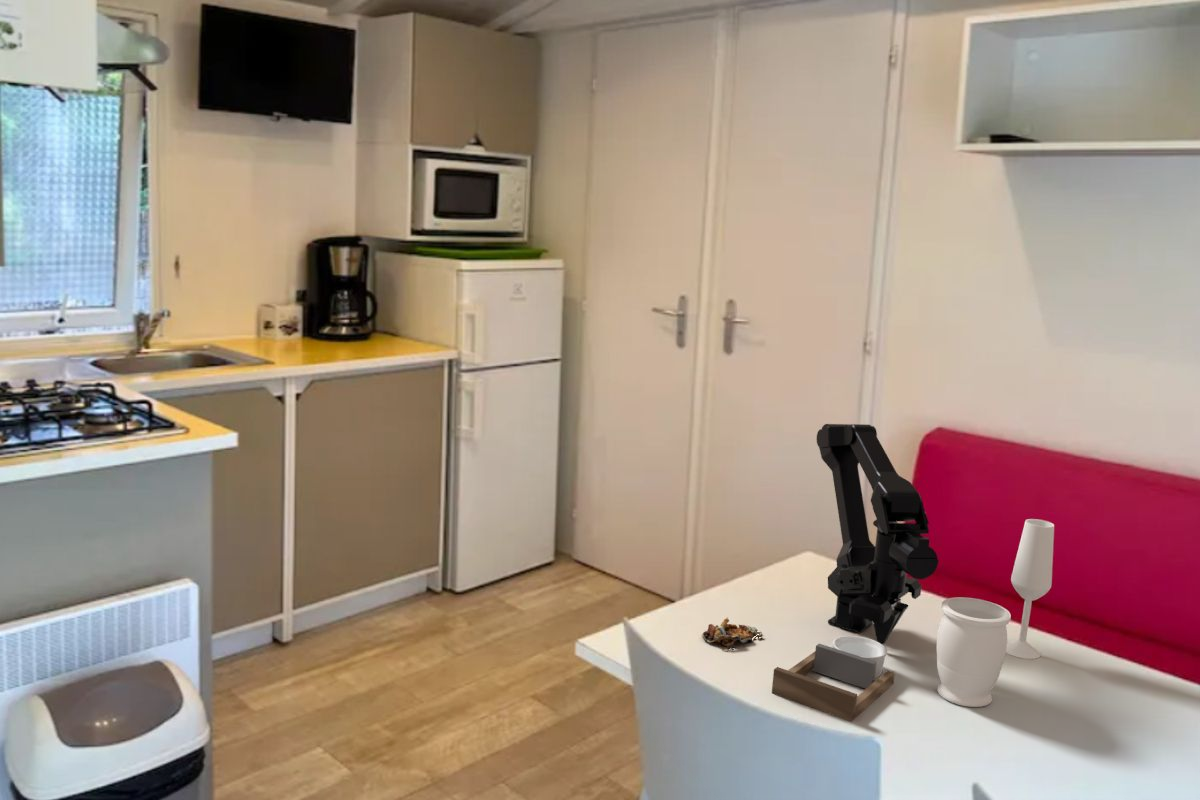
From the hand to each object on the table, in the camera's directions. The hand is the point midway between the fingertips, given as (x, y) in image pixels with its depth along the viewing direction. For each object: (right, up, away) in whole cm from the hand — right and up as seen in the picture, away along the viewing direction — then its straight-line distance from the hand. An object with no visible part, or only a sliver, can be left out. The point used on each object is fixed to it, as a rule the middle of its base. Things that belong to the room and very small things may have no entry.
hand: (880, 643), depth 183 cm
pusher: (-9, -3, -12) cm, 16 cm away
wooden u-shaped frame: (-11, -4, -15) cm, 19 cm away
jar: (+9, -5, -15) cm, 18 cm away
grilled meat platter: (-26, 0, +2) cm, 26 cm away
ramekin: (-6, -3, -8) cm, 10 cm away
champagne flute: (+26, -3, +5) cm, 27 cm away
